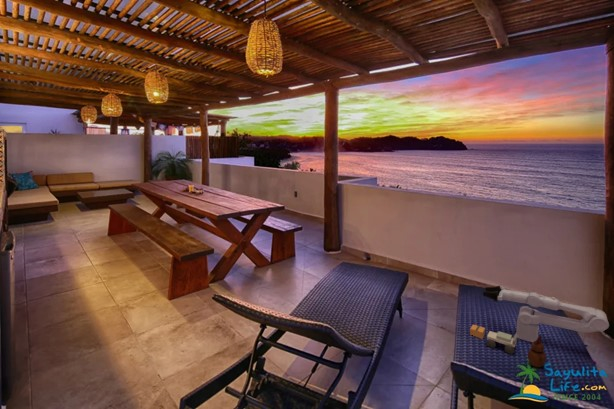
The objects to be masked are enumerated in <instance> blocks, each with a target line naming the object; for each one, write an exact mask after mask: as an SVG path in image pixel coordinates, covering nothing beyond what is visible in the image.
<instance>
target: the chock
mask: <svg viewBox="0 0 614 409" xmlns="http://www.w3.org/2000/svg"><path fill="white" fill-rule="evenodd" d="M485 331H486V327H483V326H480V325H476V324H472V325H471V327H470V332H469V333H470V334H469V335H470V336H471V335H473V336H472V337H474V336H476V337H475V338H477V337H478V339H481V340H482V339H484V337H485V333H486V332H485Z"/></svg>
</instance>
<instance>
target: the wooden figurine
mask: <svg viewBox="0 0 614 409" xmlns="http://www.w3.org/2000/svg"><path fill="white" fill-rule="evenodd" d="M530 345H531V346H530V347H531V348H530V349H529V350H528V351H527V360H528V362H529V364H530V365H531V366H532V367H535V368H542V367H543V366H545V364H546V360H547V355H546V353H545V346H544V344H543V343H542V334H540V335H539V336H538V339H537V340H536V341H534V342H531V344H530Z"/></svg>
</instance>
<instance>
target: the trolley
mask: <svg viewBox="0 0 614 409" xmlns="http://www.w3.org/2000/svg"><path fill="white" fill-rule="evenodd" d="M486 339H487V341H486V344H485V345H486V346H487V347H489V348H490V349H495V347H497V346H496V345H497V344H496V342H497V343H500V344H503V345H505V346H504V352H505V353H506V354H508V355H513V354H514V353H515V347H517V340H518V338H517V336H516V335H515V334H514V335H513V334H510V333H506V332H503V331H497V332H494V331H491V330H489V332H488V334H487V335H486Z"/></svg>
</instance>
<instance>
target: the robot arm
mask: <svg viewBox="0 0 614 409" xmlns="http://www.w3.org/2000/svg"><path fill="white" fill-rule="evenodd" d="M482 296H484V297H486V298H489V299H491V300H492V301H494V302H498V301H509V302H515V303H521V304H527V306H526V305H523V306H520V308H519V313H518V316H517V323H516V332H515V334H514V335H516V336H517V339H520V340H523V341H526V342H530V343H532V342H534V341H536V340H537V339H538V336H539V337H540V335H539V326H540V325H539V324H542V325H547V326H551V327H557V328H562V329H566V330H570V331H575V332H580V333H584V334H585V333H587V334H588V333H595V332H601V333H602V332H604V331H605V330H607V329H609V327H610V322H609V321H608V317H607V316H608V315H607V314H606V313H605V312H606V311H605V312H604V310H601V309H598V308H594V307H591V306H589V307H588V306H582V305H578V304H577V305H576V304H570V303H566V302H561V301H560V300H559V299H558V298H556V297H554V296H551V297H549V296H546V295H543V294H539V293H538V292H535V291H530V292H524V291H518V290H512V289H506V288H505V287H504V286H500V285H497V286H486V287H485V291H482ZM528 305H529V306H528ZM531 307H533V308H531ZM539 307H540V308H545V309H548V310H552V311H558V310H562V311H565V312H569V313H573V314H575V315H578V316H579V315H580V316H581V317H582V319H575V318H571V317H565V316H559V315H555V314H552V313H544V312H541V311H539V310H537V309H534V308H539Z"/></svg>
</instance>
